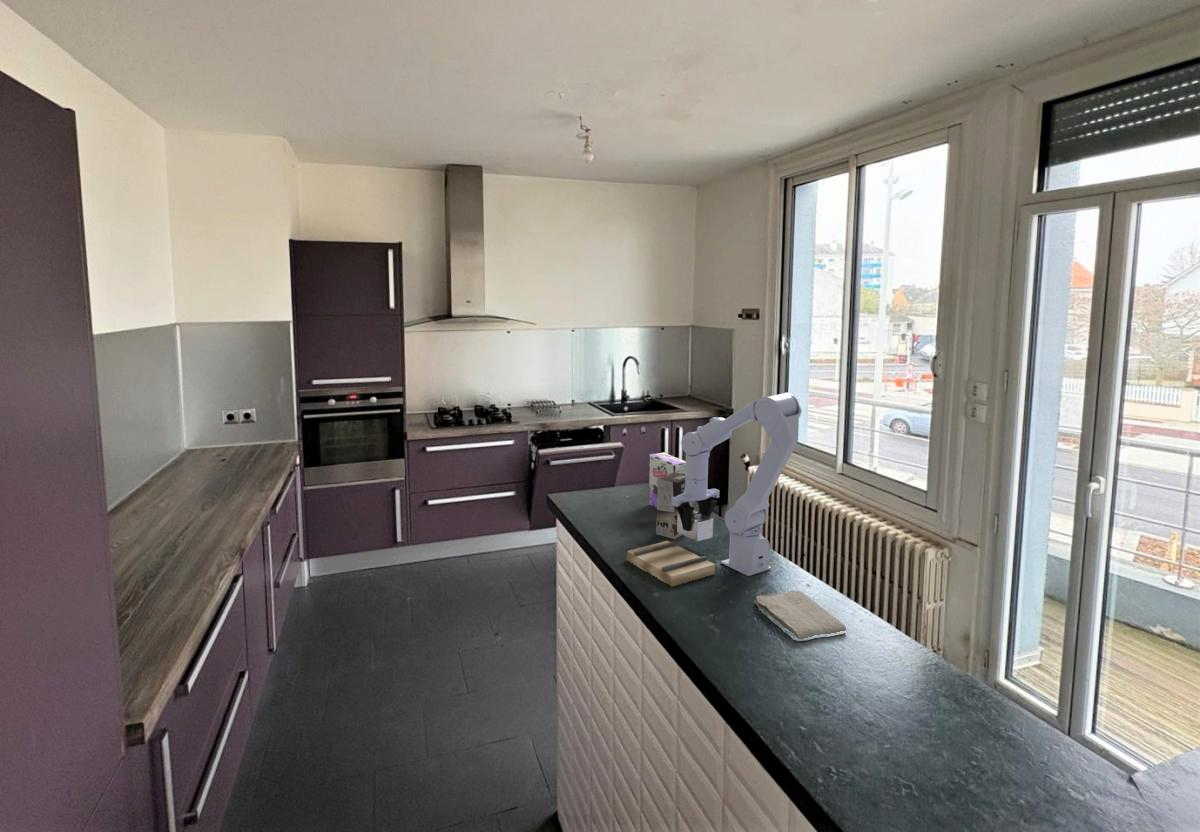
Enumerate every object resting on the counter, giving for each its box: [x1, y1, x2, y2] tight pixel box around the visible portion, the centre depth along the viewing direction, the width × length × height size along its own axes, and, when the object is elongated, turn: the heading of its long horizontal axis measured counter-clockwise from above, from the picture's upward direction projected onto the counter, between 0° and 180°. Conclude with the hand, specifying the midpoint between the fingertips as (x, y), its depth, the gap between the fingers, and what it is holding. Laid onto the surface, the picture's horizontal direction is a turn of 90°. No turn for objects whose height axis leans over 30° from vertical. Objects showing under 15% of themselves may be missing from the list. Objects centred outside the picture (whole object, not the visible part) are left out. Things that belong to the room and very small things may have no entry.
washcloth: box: [753, 590, 847, 639], centre depth 143 cm, size 12×18×3 cm, turn 18°
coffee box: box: [655, 472, 693, 540], centre depth 190 cm, size 9×6×16 cm
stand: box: [626, 540, 716, 587], centre depth 168 cm, size 18×13×3 cm
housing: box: [677, 510, 714, 542], centre depth 179 cm, size 8×5×6 cm, turn 33°
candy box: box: [648, 451, 686, 510], centre depth 210 cm, size 14×6×16 cm, turn 28°
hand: (695, 527), depth 179 cm, fingers closed on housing, 5 cm apart
